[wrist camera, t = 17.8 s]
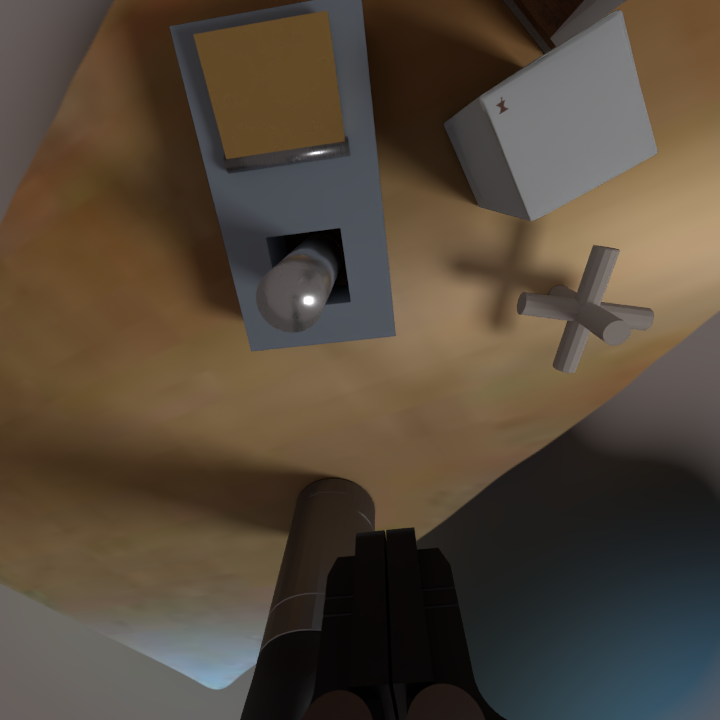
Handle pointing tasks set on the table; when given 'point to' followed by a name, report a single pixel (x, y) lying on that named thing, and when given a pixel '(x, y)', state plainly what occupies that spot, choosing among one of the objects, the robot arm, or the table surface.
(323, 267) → the steel pin
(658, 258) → the table surface
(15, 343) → the table surface
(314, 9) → the pin block
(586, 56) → the supplement box
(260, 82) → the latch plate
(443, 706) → the robot arm
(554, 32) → the display case
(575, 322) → the pipe connector
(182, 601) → the table surface
